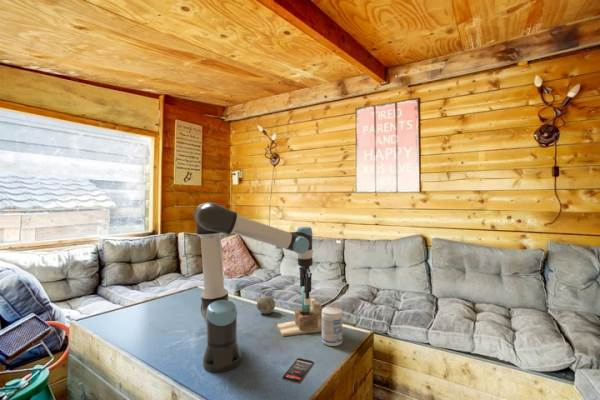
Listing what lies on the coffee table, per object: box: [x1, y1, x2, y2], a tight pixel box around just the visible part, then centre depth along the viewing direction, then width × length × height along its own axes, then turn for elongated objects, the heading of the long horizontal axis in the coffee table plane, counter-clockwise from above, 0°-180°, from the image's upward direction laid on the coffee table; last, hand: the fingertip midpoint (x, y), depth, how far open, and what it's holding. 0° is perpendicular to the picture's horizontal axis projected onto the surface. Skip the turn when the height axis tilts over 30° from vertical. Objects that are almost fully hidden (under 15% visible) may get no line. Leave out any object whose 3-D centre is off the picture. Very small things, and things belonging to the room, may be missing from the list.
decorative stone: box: [256, 295, 276, 315], centre depth 173 cm, size 10×8×10 cm
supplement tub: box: [321, 306, 343, 347], centre depth 139 cm, size 10×10×15 cm
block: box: [294, 309, 317, 330], centre depth 155 cm, size 9×9×6 cm
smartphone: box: [281, 357, 315, 384], centre depth 117 cm, size 7×1×15 cm
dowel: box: [301, 286, 310, 312], centre depth 154 cm, size 4×4×12 cm
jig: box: [276, 297, 323, 338], centre depth 154 cm, size 13×20×12 cm, turn 107°
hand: (305, 303), depth 154 cm, fingers closed on dowel, 4 cm apart
